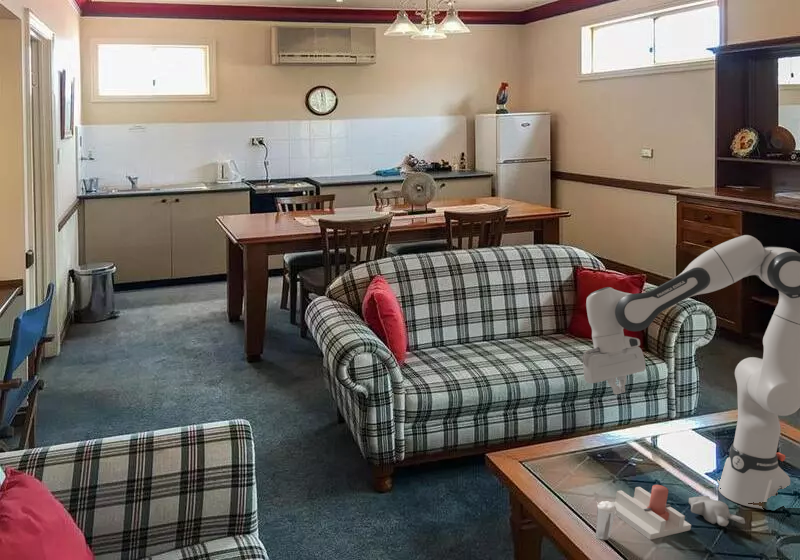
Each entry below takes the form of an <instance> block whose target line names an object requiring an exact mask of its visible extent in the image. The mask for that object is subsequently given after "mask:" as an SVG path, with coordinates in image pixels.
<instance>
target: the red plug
mask: <svg viewBox="0 0 800 560" xmlns="http://www.w3.org/2000/svg"><path fill="white" fill-rule="evenodd" d="M650 494H651V497H650V503H649V507H647V508H651V511H653V512H654V513H656V514H657V515H659V516H660V517H662V518H663V519H664V520H666V521H667V520H668V518H669V513H668V512H667V511H665V508H666V504H667V500H668V495H669V488H668V487H666V486H664V485H662V484H661V485H660V484H654V485H652V486H651V492H650Z"/></svg>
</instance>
